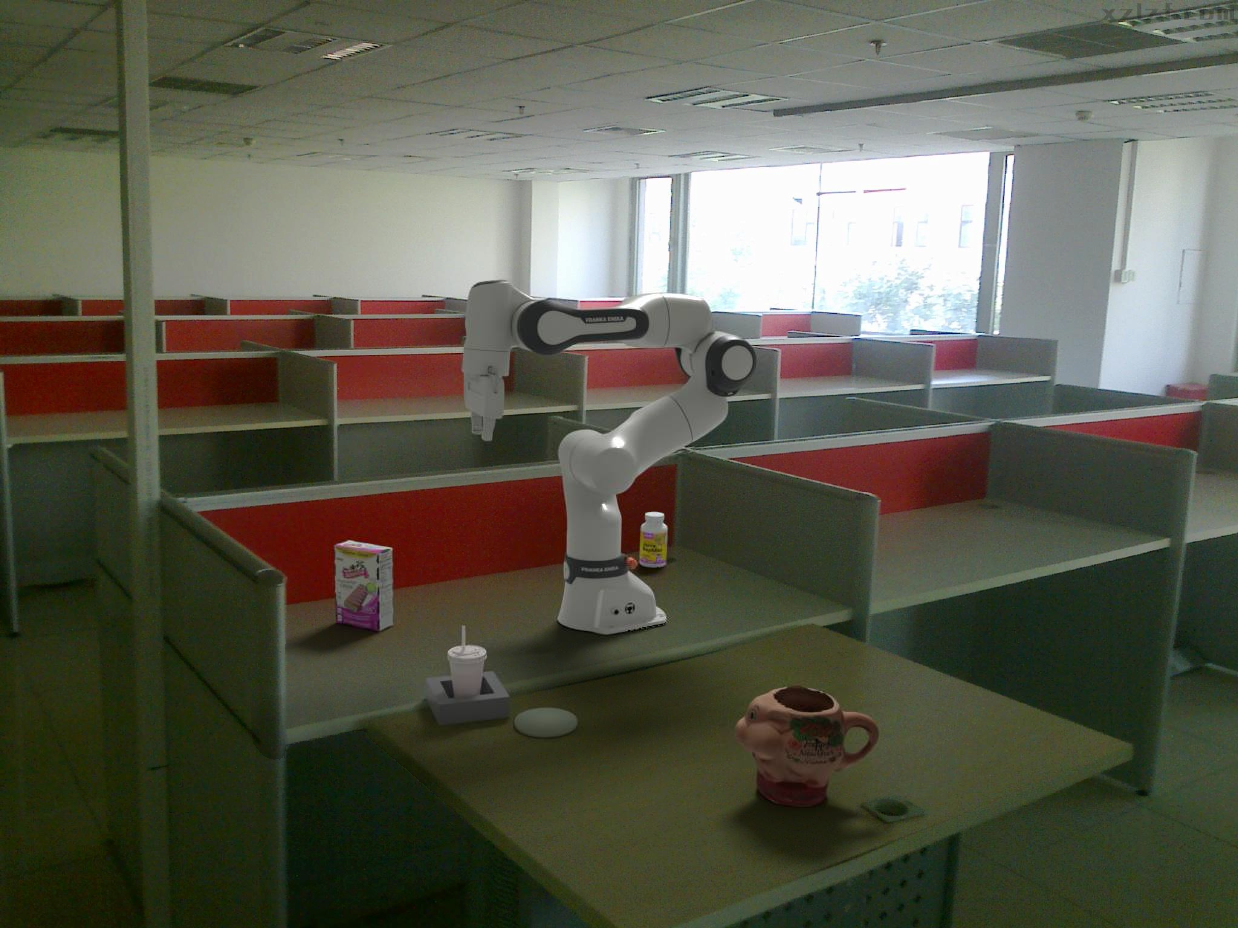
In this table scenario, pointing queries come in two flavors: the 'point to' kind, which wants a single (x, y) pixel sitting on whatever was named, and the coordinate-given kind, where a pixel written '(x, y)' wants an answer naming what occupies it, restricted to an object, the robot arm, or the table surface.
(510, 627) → the table surface
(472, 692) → the smoothie
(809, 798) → the cartoon character mug
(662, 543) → the supplement bottle
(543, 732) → the rubber pad
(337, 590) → the candy bar box
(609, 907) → the table surface
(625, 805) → the table surface
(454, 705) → the socket collar
